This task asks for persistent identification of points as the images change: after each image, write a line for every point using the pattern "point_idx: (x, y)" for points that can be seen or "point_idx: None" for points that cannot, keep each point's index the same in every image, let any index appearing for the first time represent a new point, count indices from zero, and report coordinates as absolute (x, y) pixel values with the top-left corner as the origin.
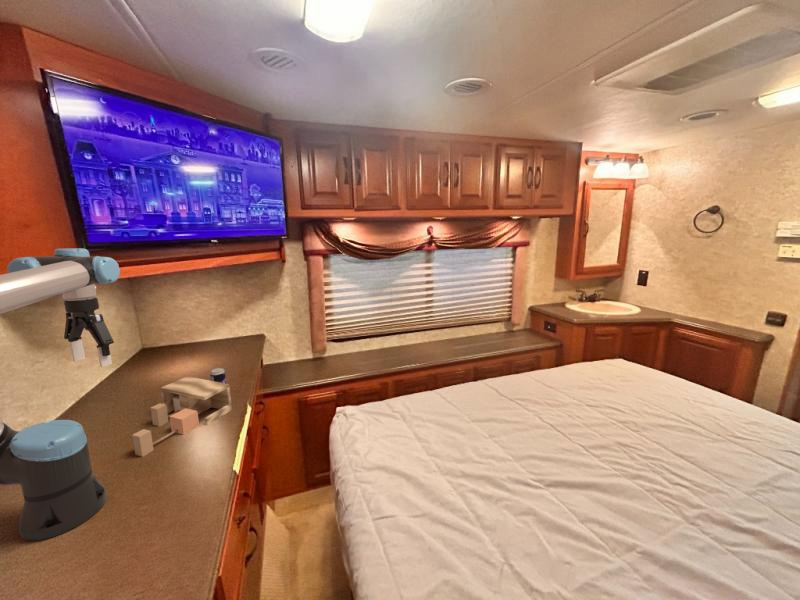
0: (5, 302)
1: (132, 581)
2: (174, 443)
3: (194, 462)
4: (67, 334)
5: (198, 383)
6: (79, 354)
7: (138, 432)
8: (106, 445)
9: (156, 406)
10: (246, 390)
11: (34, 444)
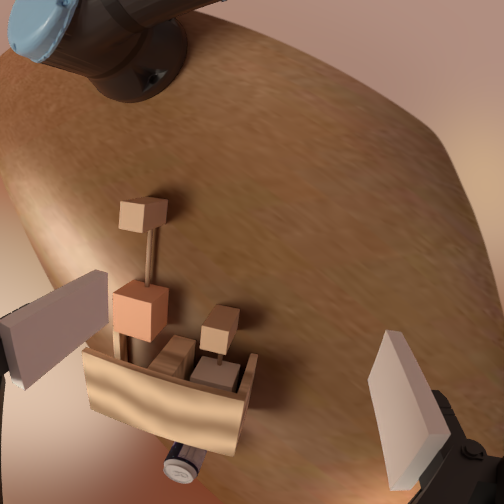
0: None
1: (12, 53)
2: (125, 248)
3: (55, 205)
4: (501, 497)
5: (161, 420)
6: (384, 382)
7: (139, 217)
8: (270, 215)
9: (217, 338)
10: (162, 441)
11: None
